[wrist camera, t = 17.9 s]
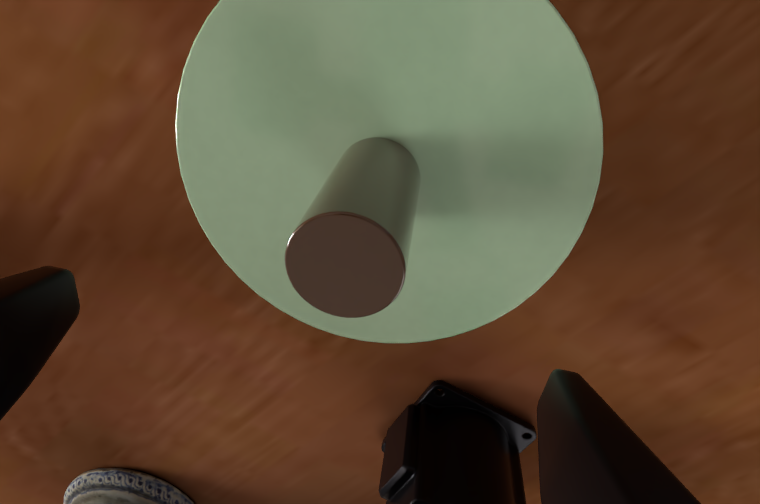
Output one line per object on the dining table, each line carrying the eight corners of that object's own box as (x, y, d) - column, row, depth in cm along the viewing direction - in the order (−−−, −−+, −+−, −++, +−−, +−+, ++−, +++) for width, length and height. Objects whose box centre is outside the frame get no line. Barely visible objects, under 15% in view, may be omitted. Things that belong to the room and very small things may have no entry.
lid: (692, 86, 13) (870, 164, 7) (447, 372, 18) (444, 532, 13) (277, -181, 11) (113, -336, 6) (152, 222, 17) (12, 334, 11)
